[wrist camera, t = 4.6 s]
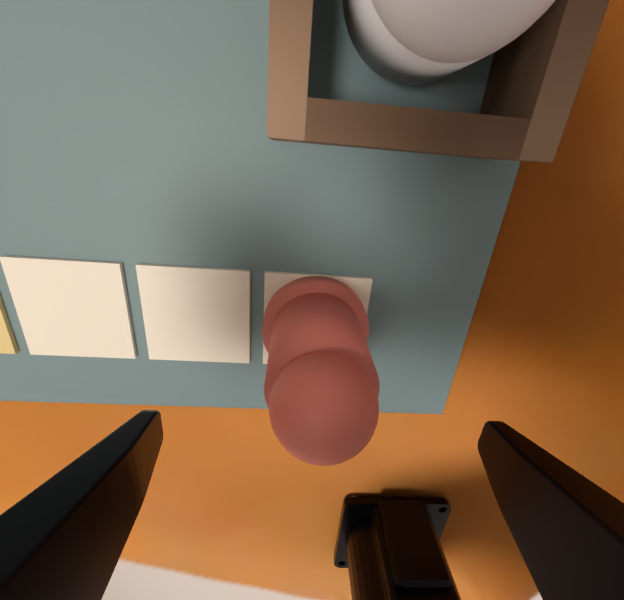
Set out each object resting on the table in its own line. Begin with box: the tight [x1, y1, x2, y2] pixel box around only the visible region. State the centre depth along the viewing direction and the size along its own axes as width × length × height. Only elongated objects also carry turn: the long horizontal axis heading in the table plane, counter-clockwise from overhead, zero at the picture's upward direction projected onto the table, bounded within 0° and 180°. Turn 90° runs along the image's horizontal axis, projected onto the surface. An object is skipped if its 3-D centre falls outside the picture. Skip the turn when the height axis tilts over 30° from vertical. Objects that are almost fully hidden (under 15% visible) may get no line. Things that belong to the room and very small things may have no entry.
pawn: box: [262, 276, 380, 466], centre depth 11 cm, size 4×4×7 cm
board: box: [0, 0, 521, 414], centre depth 12 cm, size 20×28×1 cm
